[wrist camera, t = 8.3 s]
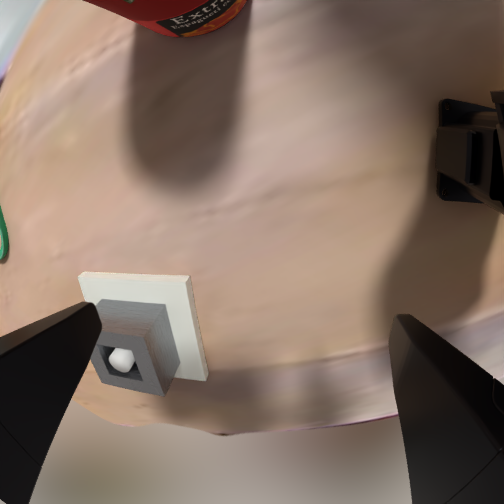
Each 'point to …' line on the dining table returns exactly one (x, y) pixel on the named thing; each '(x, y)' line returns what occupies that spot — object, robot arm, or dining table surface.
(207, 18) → the canned food
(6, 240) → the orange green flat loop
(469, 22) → the dining table surface
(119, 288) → the post block
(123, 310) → the square hole block
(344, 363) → the dining table surface
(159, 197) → the dining table surface
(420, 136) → the dining table surface
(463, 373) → the robot arm
